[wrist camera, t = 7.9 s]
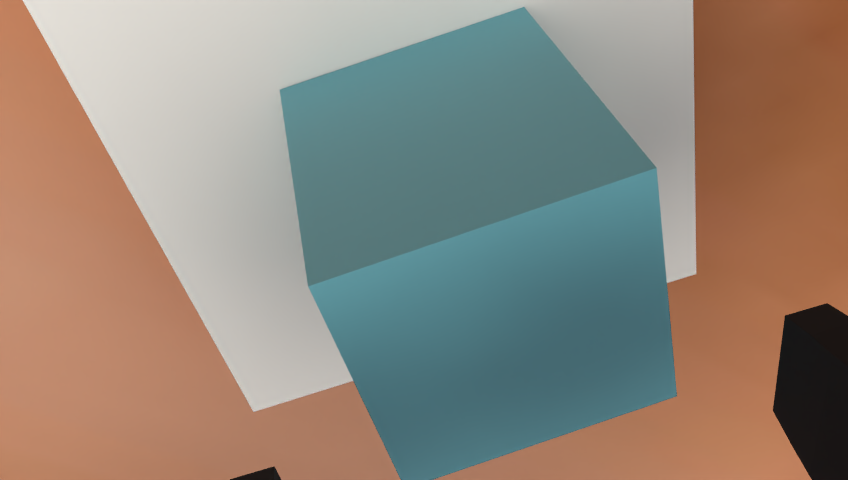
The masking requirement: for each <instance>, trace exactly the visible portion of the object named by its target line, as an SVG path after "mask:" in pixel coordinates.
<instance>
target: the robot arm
mask: <svg viewBox="0 0 848 480" xmlns="http://www.w3.org/2000/svg"><path fill="white" fill-rule="evenodd" d="M773 412H774V413H775V415H776V417H777V419H778V421H779V423H780V424H781V426H782V428H783V430H784V432H785V434H786V435H787V437H788V439H789V441H790V443H791V445H792V446H793V448H794V450H795V452H796V453H797V455H798V457H799V458H800V460H801V462H802V464H803V465H804V467H805V469H806V470H807V472H808V474H809V476H810V477H811V479H812V480H848V316H847V315H845V314H844V313H842V312H840V311H839V310H837V309H836V308H834V307H832V306H831V305H829V304H827V303H826V304H823V305H820V306H816V307H813V308H810V309H806V310H803V311H799V312H796V313H793V314H789V315H786V316H785V321H784V328H783V336H782V344H781V352H780V360H779V367H778V375H777V383H776V391H775V399H774V406H773ZM230 480H281V479H280V477H279V475H278V473H277V471H276V469H275V467H271V468H267V469H264V470H260V471H257V472H254V473H250V474H247V475H244V476H240V477H237V478H233V479H230Z"/></svg>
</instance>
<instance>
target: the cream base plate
mask: <svg viewBox="0 0 848 480" xmlns="http://www.w3.org/2000/svg"><path fill="white" fill-rule="evenodd" d="M23 1H24V3H25V5H26V7H27V9H28V10H29V12H30V14H31V16H32V17H33V19H34V21H35V23H36V25H37V26H38V28H39V30H40V32H41V34H42V35H43V37H44V39H45V41H46V42H47V44H48V46H49V48H50V50H51V51H52V53H53V55H54V57H55V59H56V60H57V62H58V64H59V66H60V67H61V69H62V71H63V73H64V75H65V76H66V78H67V80H68V82H69V83H70V85H71V87H72V89H73V91H74V92H75V94H76V96H77V98H78V100H79V101H80V103H81V105H82V107H83V108H84V110H85V112H86V114H87V116H88V117H89V119H90V121H91V123H92V125H93V126H94V128H95V130H96V132H97V133H98V135H99V137H100V139H101V141H102V142H103V144H104V146H105V148H106V150H107V151H108V153H109V155H110V157H111V158H112V160H113V162H114V164H115V166H116V167H117V169H118V171H119V173H120V174H121V176H122V178H123V180H124V182H125V183H126V185H127V187H128V189H129V191H130V192H131V194H132V196H133V198H134V199H135V201H136V203H137V205H138V207H139V208H140V210H141V212H142V214H143V216H144V217H145V219H146V221H147V223H148V224H149V226H150V228H151V230H152V232H153V233H154V235H155V237H156V239H157V240H158V242H159V244H160V246H161V248H162V249H163V251H164V253H165V255H166V257H167V258H168V260H169V262H170V264H171V265H172V267H173V269H174V271H175V273H176V274H177V276H178V278H179V280H180V282H181V283H182V285H183V287H184V289H185V290H186V292H187V294H188V296H189V298H190V299H191V301H192V303H193V305H194V307H195V308H196V310H197V312H198V314H199V315H200V317H201V319H202V321H203V323H204V324H205V326H206V328H207V330H208V331H209V333H210V335H211V337H212V339H213V340H214V342H215V344H216V346H217V348H218V349H219V351H220V353H221V355H222V356H223V358H224V360H225V362H226V364H227V365H228V367H229V369H230V371H231V373H232V374H233V376H234V378H235V380H236V381H237V383H238V385H239V387H240V389H241V390H242V392H243V394H244V396H245V397H246V399H247V401H248V403H249V405H250V406H251V408H252V410H253V412H255V411H258V410H261V409H264V408H268V407H271V406H274V405H277V404H280V403H284V402H287V401H290V400H293V399H296V398H300V397H303V396H306V395H309V394H313V393H316V392H319V391H322V390H325V389H329V388H332V387H335V386H338V385H341V384H345V383H348V382H351V381H353V379H352V377H351V375H350V373H349V371H348V369H347V366H346V364H345V362H344V360H343V358H342V356H341V354H340V352H339V350H338V348H337V346H336V344H335V341H334V339H333V337H332V335H331V333H330V331H329V329H328V327H327V325H326V323H325V321H324V319H323V317H322V314H321V312H320V310H319V308H318V306H317V304H316V302H315V300H314V298H313V296H312V294H311V292H310V289H309V287H308V283H307V276H306V269H305V262H304V255H303V248H302V241H301V234H300V227H299V221H298V214H297V207H296V200H295V193H294V186H293V179H292V172H291V165H290V158H289V152H288V145H287V138H286V131H285V124H284V117H283V110H282V103H281V96H280V89H283V88H286V87H289V86H292V85H295V84H298V83H301V82H304V81H307V80H310V79H313V78H316V77H319V76H322V75H325V74H328V73H331V72H333V71H336V70H339V69H342V68H345V67H348V66H351V65H354V64H357V63H360V62H363V61H366V60H369V59H372V58H375V57H378V56H381V55H384V54H387V53H389V52H392V51H395V50H398V49H401V48H404V47H407V46H410V45H413V44H416V43H419V42H422V41H425V40H428V39H431V38H434V37H437V36H440V35H443V34H445V33H448V32H451V31H454V30H457V29H460V28H463V27H466V26H469V25H472V24H475V23H478V22H481V21H484V20H487V19H490V18H493V17H496V16H499V15H501V14H504V13H507V12H510V11H513V10H516V9H519V8H522V7H525V9H526V10H527V11H528V12H529V13H530V15H531V16H532V17H533V18H534V20H535V21H536V22H537V23H538V24H539V26H540V27H541V28H542V29H543V30H544V32H545V33H546V34H547V35H548V37H549V38H550V39H551V40H552V41H553V43H554V44H555V45H556V46H557V47H558V49H559V50H560V51H561V52H562V54H563V55H564V56H565V57H566V58H567V60H568V61H569V62H570V63H571V64H572V66H573V67H574V68H575V69H576V71H577V72H578V73H579V74H580V75H581V77H582V78H583V79H584V80H585V81H586V83H587V84H588V85H589V86H590V88H591V89H592V90H593V91H594V92H595V94H596V95H597V96H598V97H599V98H600V100H601V101H602V102H603V103H604V104H605V106H606V107H607V108H608V109H609V111H610V112H611V113H612V114H613V115H614V117H615V118H616V119H617V120H618V121H619V123H620V124H621V125H622V126H623V128H624V129H625V130H626V131H627V132H628V134H629V135H630V136H631V137H632V138H633V140H634V141H635V142H636V143H637V145H638V146H639V147H640V148H641V149H642V151H643V152H644V153H645V154H646V155H647V157H648V158H649V159H650V160H651V162H652V163H653V164H654V165H655V166H656V168H657V177H658V189H659V200H660V211H661V223H662V234H663V245H664V256H665V268H666V279H667V283H669V282H672V281H675V280H678V279H681V278H685V277H688V276H691V275H694V274H696V211H695V124H694V37H693V0H23Z"/></svg>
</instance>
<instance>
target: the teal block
mask: <svg viewBox="0 0 848 480" xmlns="http://www.w3.org/2000/svg"><path fill="white" fill-rule="evenodd" d="M280 96H281V103H282V110H283V117H284V124H285V131H286V138H287V145H288V152H289V158H290V165H291V172H292V179H293V186H294V193H295V200H296V207H297V214H298V221H299V227H300V234H301V241H302V248H303V255H304V262H305V269H306V276H307V283H308V287H309V289H310V292H311V294H312V296H313V298H314V300H315V302H316V304H317V306H318V308H319V310H320V312H321V314H322V317H323V319H324V321H325V323H326V325H327V327H328V329H329V331H330V333H331V335H332V337H333V339H334V341H335V344H336V346H337V348H338V350H339V352H340V354H341V356H342V358H343V360H344V362H345V364H346V366H347V369H348V371H349V373H350V375H351V377H352V379H353V381H354V383H355V385H356V387H357V389H358V391H359V394H360V396H361V398H362V400H363V402H364V404H365V406H366V408H367V410H368V412H369V414H370V416H371V418H372V421H373V423H374V425H375V427H376V429H377V431H378V433H379V435H380V437H381V439H382V441H383V443H384V446H385V448H386V450H387V452H388V454H389V456H390V458H391V460H392V462H393V464H394V466H395V468H396V471H397V473H398V475H399V477H400V479H401V480H433V479H436V478H439V477H442V476H445V475H448V474H450V473H453V472H456V471H459V470H462V469H465V468H468V467H471V466H474V465H477V464H480V463H483V462H486V461H489V460H491V459H494V458H497V457H500V456H503V455H506V454H509V453H512V452H515V451H518V450H521V449H524V448H527V447H530V446H532V445H535V444H538V443H541V442H544V441H547V440H550V439H553V438H556V437H559V436H562V435H565V434H568V433H571V432H573V431H576V430H579V429H582V428H585V427H588V426H591V425H594V424H597V423H600V422H603V421H606V420H609V419H612V418H614V417H617V416H620V415H623V414H626V413H629V412H632V411H635V410H638V409H641V408H644V407H647V406H650V405H652V404H655V403H658V402H661V401H664V400H667V399H670V398H673V397H676V396H677V392H676V381H675V370H674V358H673V347H672V336H671V324H670V313H669V302H668V290H667V279H666V268H665V256H664V245H663V234H662V223H661V211H660V200H659V189H658V177H657V168H656V166H655V165H654V164H653V163H652V162H651V160H650V159H649V158H648V157H647V155H646V154H645V153H644V152H643V151H642V149H641V148H640V147H639V146H638V145H637V143H636V142H635V141H634V140H633V138H632V137H631V136H630V135H629V134H628V132H627V131H626V130H625V129H624V128H623V126H622V125H621V124H620V123H619V121H618V120H617V119H616V118H615V117H614V115H613V114H612V113H611V112H610V111H609V109H608V108H607V107H606V106H605V104H604V103H603V102H602V101H601V100H600V98H599V97H598V96H597V95H596V94H595V92H594V91H593V90H592V89H591V88H590V86H589V85H588V84H587V83H586V81H585V80H584V79H583V78H582V77H581V75H580V74H579V73H578V72H577V71H576V69H575V68H574V67H573V66H572V64H571V63H570V62H569V61H568V60H567V58H566V57H565V56H564V55H563V54H562V52H561V51H560V50H559V49H558V47H557V46H556V45H555V44H554V43H553V41H552V40H551V39H550V38H549V37H548V35H547V34H546V33H545V32H544V30H543V29H542V28H541V27H540V26H539V24H538V23H537V22H536V21H535V20H534V18H533V17H532V16H531V15H530V13H529V12H528V11H527V10H526V9H525V7H522V8H519V9H516V10H513V11H510V12H507V13H504V14H501V15H499V16H496V17H493V18H490V19H487V20H484V21H481V22H478V23H475V24H472V25H469V26H466V27H463V28H460V29H457V30H454V31H451V32H448V33H445V34H443V35H440V36H437V37H434V38H431V39H428V40H425V41H422V42H419V43H416V44H413V45H410V46H407V47H404V48H401V49H398V50H395V51H392V52H389V53H387V54H384V55H381V56H378V57H375V58H372V59H369V60H366V61H363V62H360V63H357V64H354V65H351V66H348V67H345V68H342V69H339V70H336V71H333V72H331V73H328V74H325V75H322V76H319V77H316V78H313V79H310V80H307V81H304V82H301V83H298V84H295V85H292V86H289V87H286V88H283V89H280Z"/></svg>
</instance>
